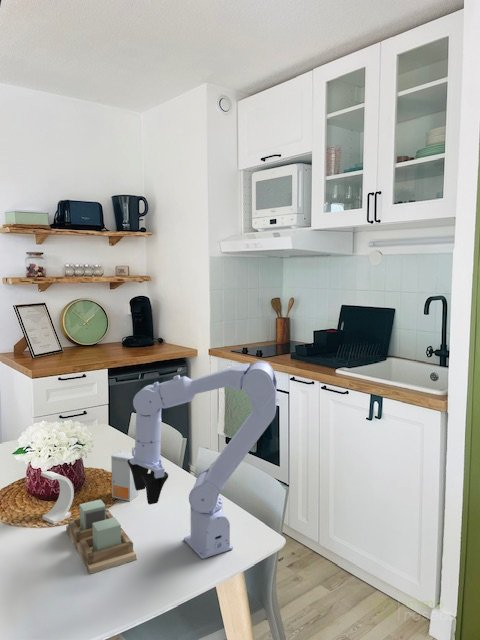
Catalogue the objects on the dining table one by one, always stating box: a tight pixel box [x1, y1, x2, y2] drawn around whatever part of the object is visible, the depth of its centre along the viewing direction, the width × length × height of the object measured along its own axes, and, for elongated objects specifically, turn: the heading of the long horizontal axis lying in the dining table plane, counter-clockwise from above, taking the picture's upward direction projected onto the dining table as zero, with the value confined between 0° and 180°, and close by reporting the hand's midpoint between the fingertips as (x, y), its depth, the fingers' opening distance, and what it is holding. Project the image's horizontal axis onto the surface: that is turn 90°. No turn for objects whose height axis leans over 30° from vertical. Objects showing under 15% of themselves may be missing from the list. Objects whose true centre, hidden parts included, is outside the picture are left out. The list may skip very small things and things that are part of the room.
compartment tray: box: [65, 509, 137, 575], centre depth 115 cm, size 20×10×3 cm, turn 32°
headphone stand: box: [40, 470, 75, 525], centre depth 128 cm, size 5×6×12 cm
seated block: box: [78, 499, 107, 531], centre depth 119 cm, size 4×5×6 cm
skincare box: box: [110, 450, 139, 502], centre depth 139 cm, size 6×4×12 cm
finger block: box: [92, 516, 122, 552], centre depth 111 cm, size 4×5×6 cm
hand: (146, 496), depth 117 cm, fingers open, 7 cm apart
